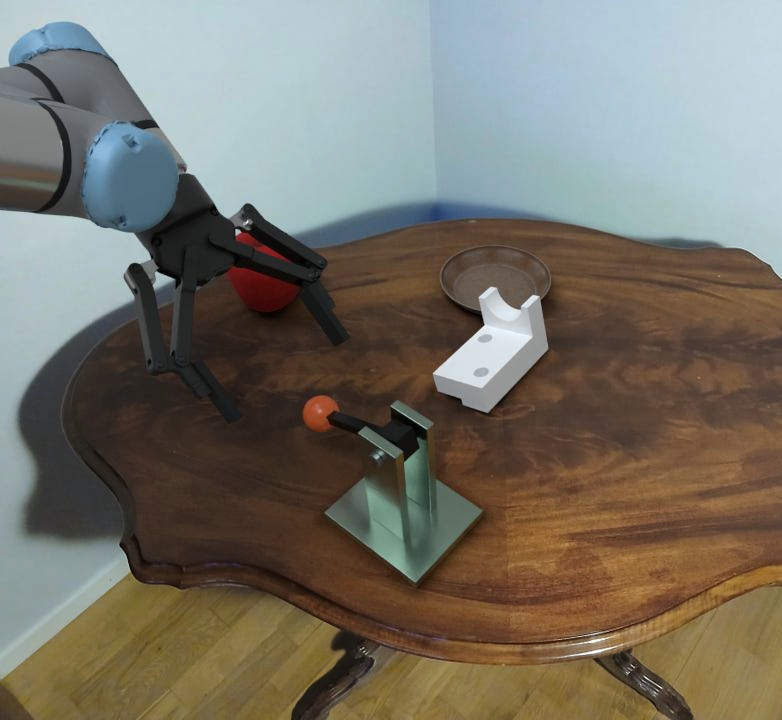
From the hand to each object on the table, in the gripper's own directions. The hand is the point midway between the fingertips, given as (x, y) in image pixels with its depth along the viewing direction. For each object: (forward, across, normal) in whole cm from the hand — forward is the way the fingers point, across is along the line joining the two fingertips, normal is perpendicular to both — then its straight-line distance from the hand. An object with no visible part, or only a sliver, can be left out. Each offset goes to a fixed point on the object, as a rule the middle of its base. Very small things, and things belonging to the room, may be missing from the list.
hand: (292, 379), depth 71 cm
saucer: (+7, -34, -8) cm, 36 cm away
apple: (-8, -14, -23) cm, 28 cm away
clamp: (+17, 0, +2) cm, 18 cm away
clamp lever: (+8, 0, +5) cm, 10 cm away
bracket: (+13, -22, -2) cm, 25 cm away
